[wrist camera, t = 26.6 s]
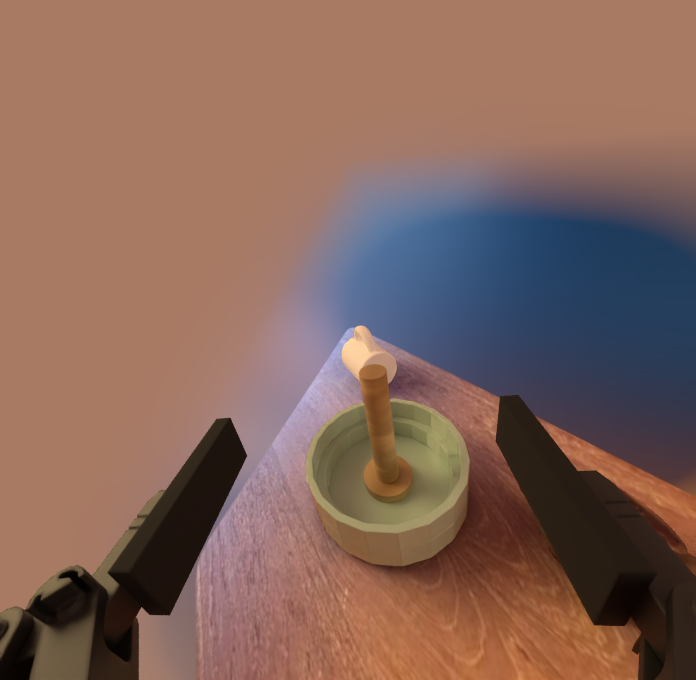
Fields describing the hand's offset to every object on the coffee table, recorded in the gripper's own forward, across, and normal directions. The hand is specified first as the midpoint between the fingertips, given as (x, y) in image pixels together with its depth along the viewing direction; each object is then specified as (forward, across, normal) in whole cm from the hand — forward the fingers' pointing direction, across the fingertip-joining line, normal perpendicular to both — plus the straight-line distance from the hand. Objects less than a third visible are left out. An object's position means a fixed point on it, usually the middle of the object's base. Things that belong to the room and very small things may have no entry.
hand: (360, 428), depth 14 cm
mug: (+40, -2, -24) cm, 47 cm away
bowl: (+15, 0, -24) cm, 28 cm away
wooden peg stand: (+15, 0, -23) cm, 27 cm away
